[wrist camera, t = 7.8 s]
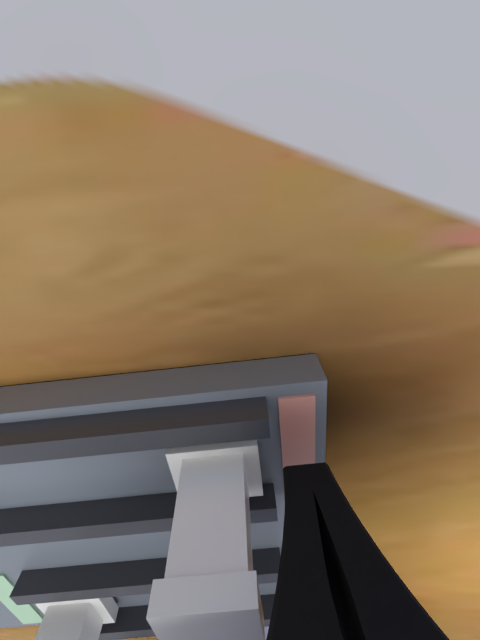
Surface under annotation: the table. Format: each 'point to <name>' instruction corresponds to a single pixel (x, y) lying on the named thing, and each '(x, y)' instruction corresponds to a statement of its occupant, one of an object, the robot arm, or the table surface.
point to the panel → (138, 476)
